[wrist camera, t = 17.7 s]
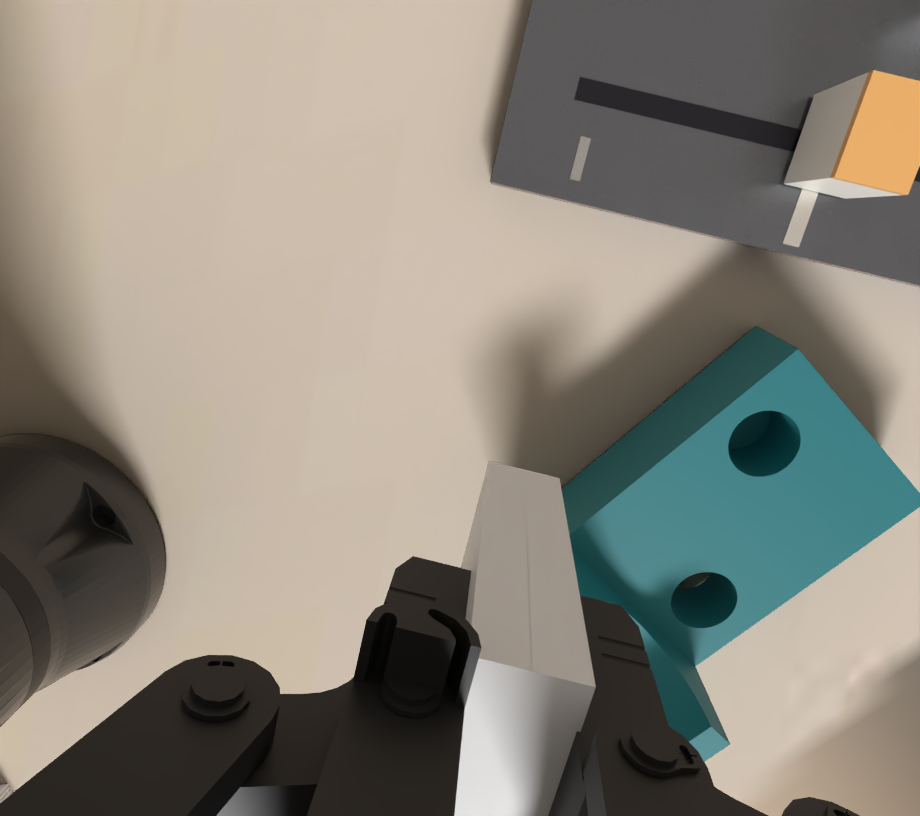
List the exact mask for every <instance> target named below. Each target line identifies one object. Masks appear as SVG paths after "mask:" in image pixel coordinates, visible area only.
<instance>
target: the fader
mask: <svg viewBox="0 0 920 816" xmlns="http://www.w3.org/2000/svg"><path fill="white" fill-rule="evenodd" d="M919 166H920V81H918V80H914V79H909V78H905V77H901V76H897V75H893V74H888V73H884V72H880V71H876V70H873V71H870V72H868V73H865V74H863V75H860V76H858V77H856V78H853V79H851V80H848V81H846V82H844V83H841V84H839V85H836V86H834V87H831V88H829V89H827V90H824V91H822V92H819V93H817V94H815V95H814V97H813V100H812V103H811V106H810V109H809V112H808V115H807V118H806V120H805V123H804V126H803V129H802V132H801V135H800V138H799V141H798V144H797V146H796V149H795V152H794V155H793V158H792V161H791V164H790V167H789V169H788V172H787V175H786V178H785V181H784V184H786V185H790V186H795V187H799V188H803V189H807V190H811V191H815V192H820V193H824V194H828V195H832V196H836V197H840V198H845V199H848V198H865V197H882V196H899V195H908V194H909V191H910V189H911V186H912V184H913V181H914V179H915V176H916V174H917V171H918V169H919Z"/></svg>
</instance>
